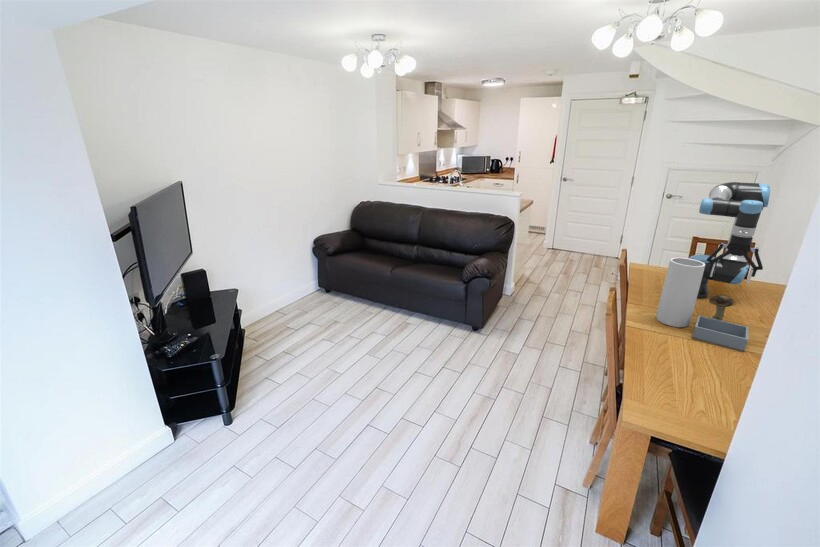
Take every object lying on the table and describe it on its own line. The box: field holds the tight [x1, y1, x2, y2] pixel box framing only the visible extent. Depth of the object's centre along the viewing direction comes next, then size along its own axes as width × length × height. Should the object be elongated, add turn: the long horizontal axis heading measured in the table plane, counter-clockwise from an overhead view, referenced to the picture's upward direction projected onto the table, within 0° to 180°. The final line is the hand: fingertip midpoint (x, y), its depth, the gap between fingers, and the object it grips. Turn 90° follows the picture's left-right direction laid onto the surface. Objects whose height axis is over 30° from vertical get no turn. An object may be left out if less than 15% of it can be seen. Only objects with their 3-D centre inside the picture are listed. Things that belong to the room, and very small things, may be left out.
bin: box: [691, 315, 749, 353], centre depth 176 cm, size 15×19×6 cm
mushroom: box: [708, 295, 735, 321], centre depth 187 cm, size 9×9×15 cm
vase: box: [655, 257, 705, 328], centre depth 187 cm, size 14×14×32 cm
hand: (729, 279), depth 180 cm, fingers open, 13 cm apart
